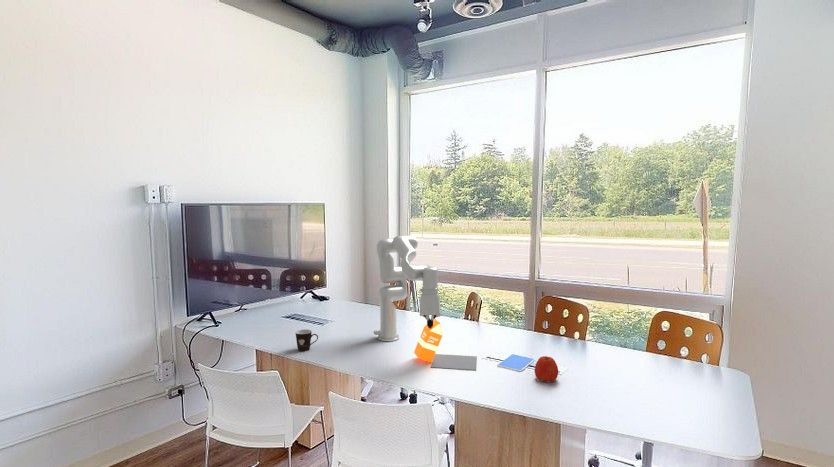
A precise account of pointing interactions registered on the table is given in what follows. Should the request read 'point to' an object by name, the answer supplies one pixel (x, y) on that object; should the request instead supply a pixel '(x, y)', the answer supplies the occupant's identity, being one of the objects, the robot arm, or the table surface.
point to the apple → (546, 369)
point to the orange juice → (429, 342)
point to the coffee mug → (304, 339)
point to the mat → (454, 362)
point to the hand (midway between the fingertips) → (430, 327)
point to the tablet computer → (516, 362)
